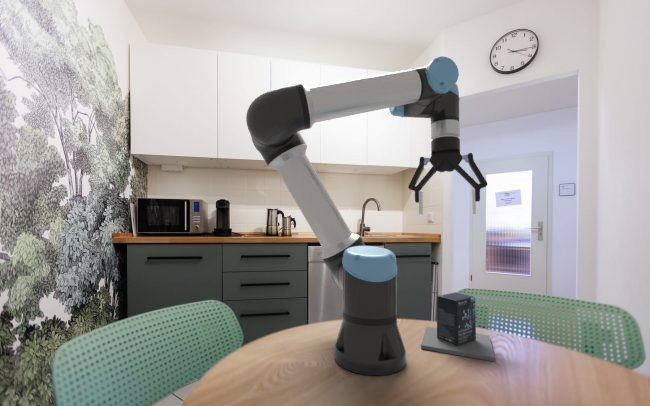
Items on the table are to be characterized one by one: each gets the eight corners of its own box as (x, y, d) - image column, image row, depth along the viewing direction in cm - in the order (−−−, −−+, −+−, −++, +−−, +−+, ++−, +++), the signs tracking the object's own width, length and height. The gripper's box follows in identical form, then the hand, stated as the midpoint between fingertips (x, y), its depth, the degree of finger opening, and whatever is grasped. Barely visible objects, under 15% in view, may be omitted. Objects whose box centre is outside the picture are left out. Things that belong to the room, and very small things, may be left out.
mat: (421, 348, 69) (421, 345, 69) (427, 329, 82) (426, 326, 82) (495, 361, 63) (494, 357, 63) (489, 338, 76) (488, 335, 76)
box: (457, 347, 68) (456, 300, 69) (436, 339, 73) (435, 295, 74) (477, 340, 73) (475, 296, 73) (455, 333, 77) (455, 291, 78)
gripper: (494, 137, 83) (496, 214, 81) (402, 146, 93) (403, 214, 91) (497, 129, 76) (500, 213, 74) (398, 140, 86) (398, 213, 85)
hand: (446, 214), depth 83 cm, fingers open, 13 cm apart
